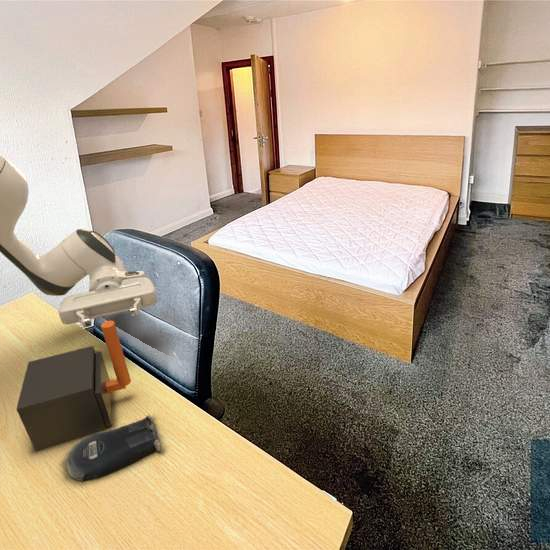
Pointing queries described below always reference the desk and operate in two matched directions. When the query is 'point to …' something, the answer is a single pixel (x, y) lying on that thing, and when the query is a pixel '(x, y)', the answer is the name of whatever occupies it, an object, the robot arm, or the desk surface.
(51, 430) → the brown drawer cube
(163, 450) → the desk surface
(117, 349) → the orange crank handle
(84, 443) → the electronic device
